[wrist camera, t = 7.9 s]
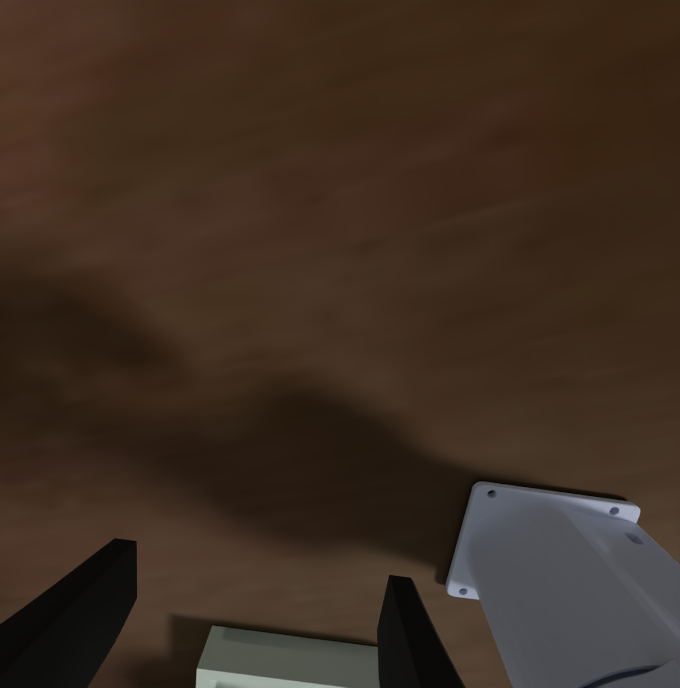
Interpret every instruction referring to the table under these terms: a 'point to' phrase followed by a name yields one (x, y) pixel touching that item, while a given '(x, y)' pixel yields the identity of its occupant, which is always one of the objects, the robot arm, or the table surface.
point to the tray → (283, 662)
